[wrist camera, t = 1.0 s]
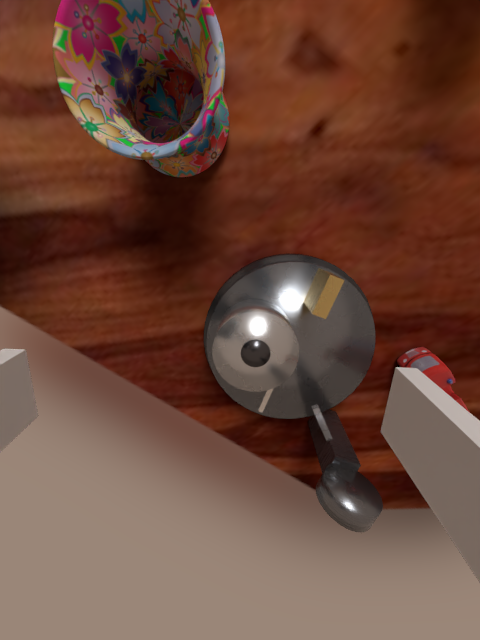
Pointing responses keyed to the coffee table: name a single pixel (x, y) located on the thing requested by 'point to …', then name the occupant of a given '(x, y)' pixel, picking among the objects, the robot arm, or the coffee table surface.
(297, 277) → the turntable
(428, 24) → the coffee table surface
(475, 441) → the robot arm
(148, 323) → the coffee table surface
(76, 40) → the mug
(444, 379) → the toy fire truck
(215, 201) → the coffee table surface
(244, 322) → the cover
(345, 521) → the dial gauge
